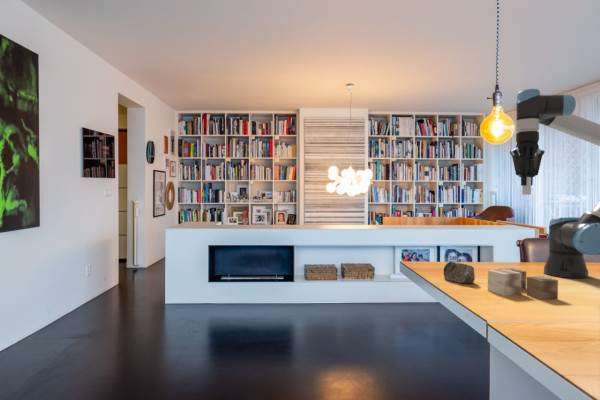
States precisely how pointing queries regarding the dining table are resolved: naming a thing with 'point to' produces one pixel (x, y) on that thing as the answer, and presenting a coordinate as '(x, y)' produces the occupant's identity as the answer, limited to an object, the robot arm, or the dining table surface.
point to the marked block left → (542, 288)
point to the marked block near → (523, 281)
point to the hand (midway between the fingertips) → (526, 194)
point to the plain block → (504, 282)
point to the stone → (459, 272)
